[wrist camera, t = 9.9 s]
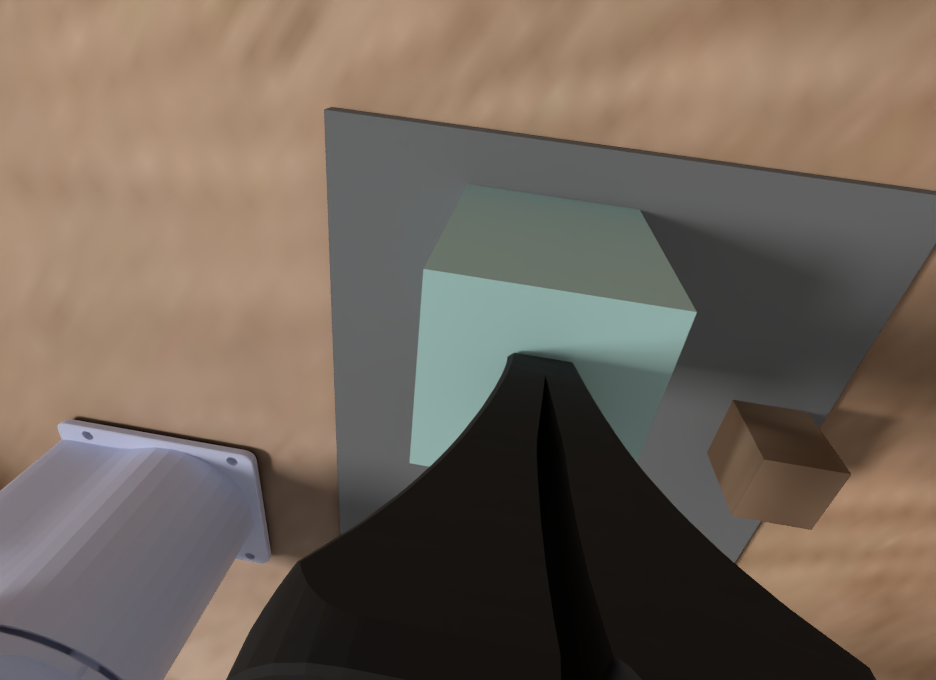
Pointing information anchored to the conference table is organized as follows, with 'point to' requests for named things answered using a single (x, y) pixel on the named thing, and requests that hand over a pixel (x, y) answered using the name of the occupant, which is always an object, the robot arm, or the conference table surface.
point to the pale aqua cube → (545, 310)
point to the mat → (686, 248)
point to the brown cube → (775, 465)
